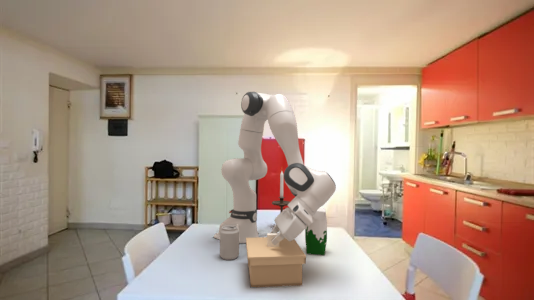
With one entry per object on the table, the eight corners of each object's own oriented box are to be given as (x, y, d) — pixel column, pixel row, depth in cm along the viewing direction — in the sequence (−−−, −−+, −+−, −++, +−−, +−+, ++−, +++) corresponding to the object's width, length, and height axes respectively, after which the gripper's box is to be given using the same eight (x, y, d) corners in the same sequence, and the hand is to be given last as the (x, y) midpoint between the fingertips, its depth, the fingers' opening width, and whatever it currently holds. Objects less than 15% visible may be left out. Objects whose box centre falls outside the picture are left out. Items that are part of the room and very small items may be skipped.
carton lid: (248, 265, 81) (248, 244, 81) (245, 244, 101) (246, 226, 101) (305, 263, 83) (305, 242, 83) (292, 243, 103) (292, 226, 103)
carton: (250, 287, 82) (251, 259, 82) (248, 264, 100) (248, 240, 100) (302, 285, 84) (302, 257, 84) (290, 262, 102) (290, 239, 102)
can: (241, 255, 109) (242, 225, 109) (233, 261, 102) (234, 230, 102) (225, 252, 112) (225, 223, 112) (216, 259, 104) (216, 228, 105)
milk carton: (305, 247, 119) (306, 202, 119) (326, 249, 117) (326, 203, 117) (304, 254, 110) (304, 205, 111) (327, 256, 108) (327, 206, 109)
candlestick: (285, 231, 144) (286, 166, 145) (268, 228, 149) (268, 165, 150) (294, 227, 153) (294, 165, 154) (277, 224, 159) (278, 165, 159)
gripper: (287, 199, 104) (262, 225, 102) (300, 210, 83) (268, 243, 82) (298, 211, 104) (273, 237, 103) (314, 224, 84) (282, 257, 82)
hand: (271, 240), depth 92 cm, fingers open, 5 cm apart
